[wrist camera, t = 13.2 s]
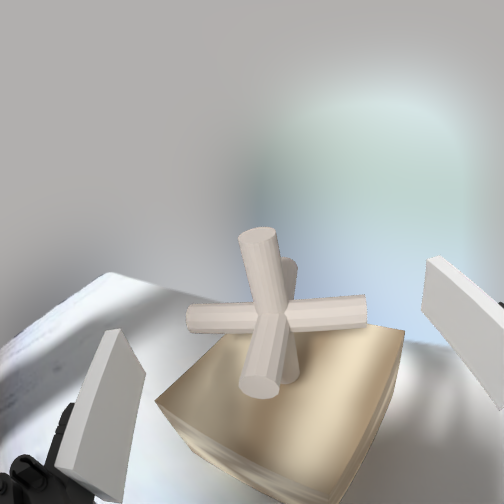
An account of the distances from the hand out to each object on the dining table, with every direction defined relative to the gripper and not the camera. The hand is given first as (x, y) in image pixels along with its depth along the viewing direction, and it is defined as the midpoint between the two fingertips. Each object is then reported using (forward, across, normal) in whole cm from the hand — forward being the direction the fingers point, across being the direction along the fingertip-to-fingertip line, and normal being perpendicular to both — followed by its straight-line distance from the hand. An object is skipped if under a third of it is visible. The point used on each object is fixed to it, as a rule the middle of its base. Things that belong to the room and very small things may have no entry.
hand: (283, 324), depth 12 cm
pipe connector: (+4, 0, -8) cm, 9 cm away
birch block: (+4, 0, -16) cm, 16 cm away
